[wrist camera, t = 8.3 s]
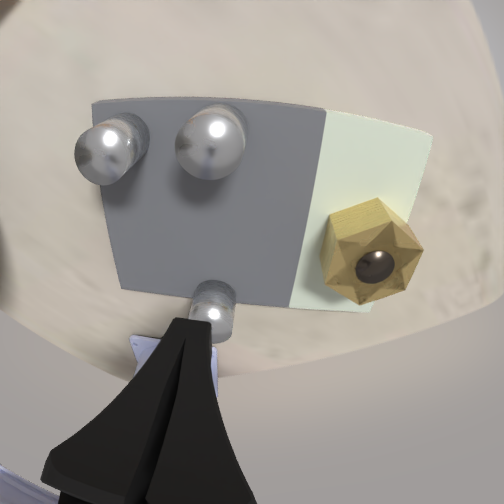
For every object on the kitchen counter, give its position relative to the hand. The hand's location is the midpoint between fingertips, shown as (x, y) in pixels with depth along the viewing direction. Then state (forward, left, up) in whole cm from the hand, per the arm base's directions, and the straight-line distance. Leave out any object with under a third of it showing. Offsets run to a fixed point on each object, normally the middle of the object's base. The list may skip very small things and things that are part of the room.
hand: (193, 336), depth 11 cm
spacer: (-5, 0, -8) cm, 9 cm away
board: (+1, -2, -9) cm, 9 cm away
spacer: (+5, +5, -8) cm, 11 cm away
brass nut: (0, -8, -8) cm, 11 cm away
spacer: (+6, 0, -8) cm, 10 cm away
